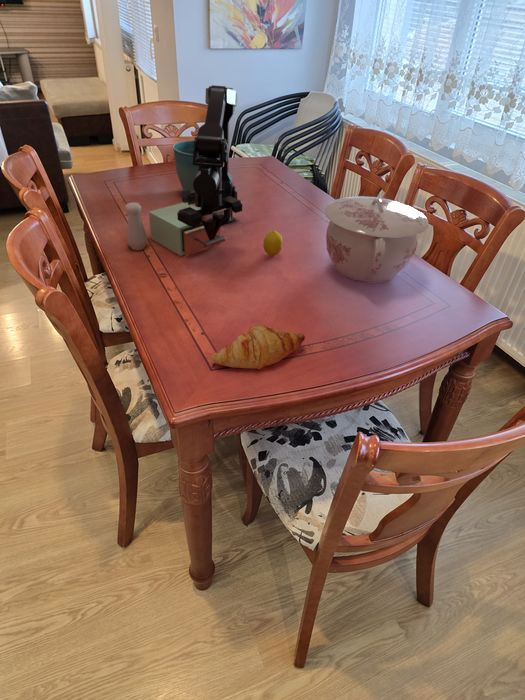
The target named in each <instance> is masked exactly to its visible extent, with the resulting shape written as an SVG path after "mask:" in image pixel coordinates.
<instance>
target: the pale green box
mask: <svg viewBox="0 0 525 700" xmlns="http://www.w3.org/2000/svg"><path fill="white" fill-rule="evenodd" d="M188 207H191V208H193V209H195V210H200V207H196V206H195V205H194V204H191V205H188V203H183V202H179V203H176V204H172V205H169V206H165V207H162V208H161V207H160V208H158V209H154V210H151V211H148V218H149V220H148V221H149V228H150V229H149V230H150V239H151V240H152V241H154V242H155V243H157V244H158V245H160V246H163V247H164V248H166V249H167V250H168V251H171V252H173V253H174V254H176V255H178V256H179V257H182V256H186V255H185V251H183V250H182V233H181V230H182V229H185V228H189V227H192V226H188V225H186V224H184V223H183V222H181V221H179V220H178V216H177V214H178V211H179V210H181V209H185V208H188ZM201 223H202V222H201Z"/></svg>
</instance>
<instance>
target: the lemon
mask: <svg viewBox="0 0 525 700" xmlns="http://www.w3.org/2000/svg"><path fill="white" fill-rule="evenodd" d="M283 245H284V244H283V237H282V235H281V233H279V232H278V231H276V230H274V229H273V230H271V231H269V232H268V233H266V234H265V236H264V237H263V250H264V252H265V253H266V255H269V256H270V257H274V256H277V255H278V254H280V253H281V251H282V249H283Z"/></svg>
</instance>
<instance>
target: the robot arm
mask: <svg viewBox="0 0 525 700" xmlns="http://www.w3.org/2000/svg"><path fill="white" fill-rule="evenodd" d="M204 101H205V102H204V103H205V104H206V105H207V109H206V115H205V120H204V124H202V125H201V126H200V127H199V128H198V130H197V133H196V136H195V137H194V139H193V140H194V151H193V165H197V166H199V171H198V174H197V176H196V177H195V179H194V182H193V188H194V191H193V192H191V191H190V190H184V191H183V190H181V195H180V196H181V197H180V198H181V201H182V203H188V205H194V206H196V207H198V208H200V210H195V209H193V208H191V207H188V208H185V209H181V210H179V211H178V214H177V216H178V220H179V221H181V222H183V223H184V224H186V225H188V226H195V225H199V224H201V222H202V224H203V226H204V228H205V230H206V233H207V235H208V238H209V240H212V239H214V238H215V236H216V234H217V232H218V230H219V228H220V229H221V227H222V226H224V225H227V224H229V223H233V222H235V221H236V218H234V217H233V213H234V214H237V213H241V212H243V203H242V201H241V200H240V199H238V190H237V189H236V185H234V177H233V176H232V174H231V172H230V170H229V169H230V121H231V119H232V117H233V116H234V114H235V108H236V107H237V106H238V92H237V90H234V88H233V87H226V85H214V84H212V85H209V86H208V87H206V88H205V100H204ZM197 154H198V156H199V157H206V158H197Z"/></svg>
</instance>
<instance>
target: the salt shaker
mask: <svg viewBox="0 0 525 700" xmlns="http://www.w3.org/2000/svg"><path fill="white" fill-rule="evenodd" d="M125 212H126V213H127V214H128V215H127V229H126V230H127V231H126V242H127V244H128V246H129V247H130V248H131V250H133V251H140V250H141V251H142V250H144V249H145V247H146V246H147V243H148V236H147V233H146V229H145V226H144V223H143V219H142V215H141V213H142V205H141V204H140V203H139V202H136V201H135V202H134V201H133V202H128V203H127V204H125Z"/></svg>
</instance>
